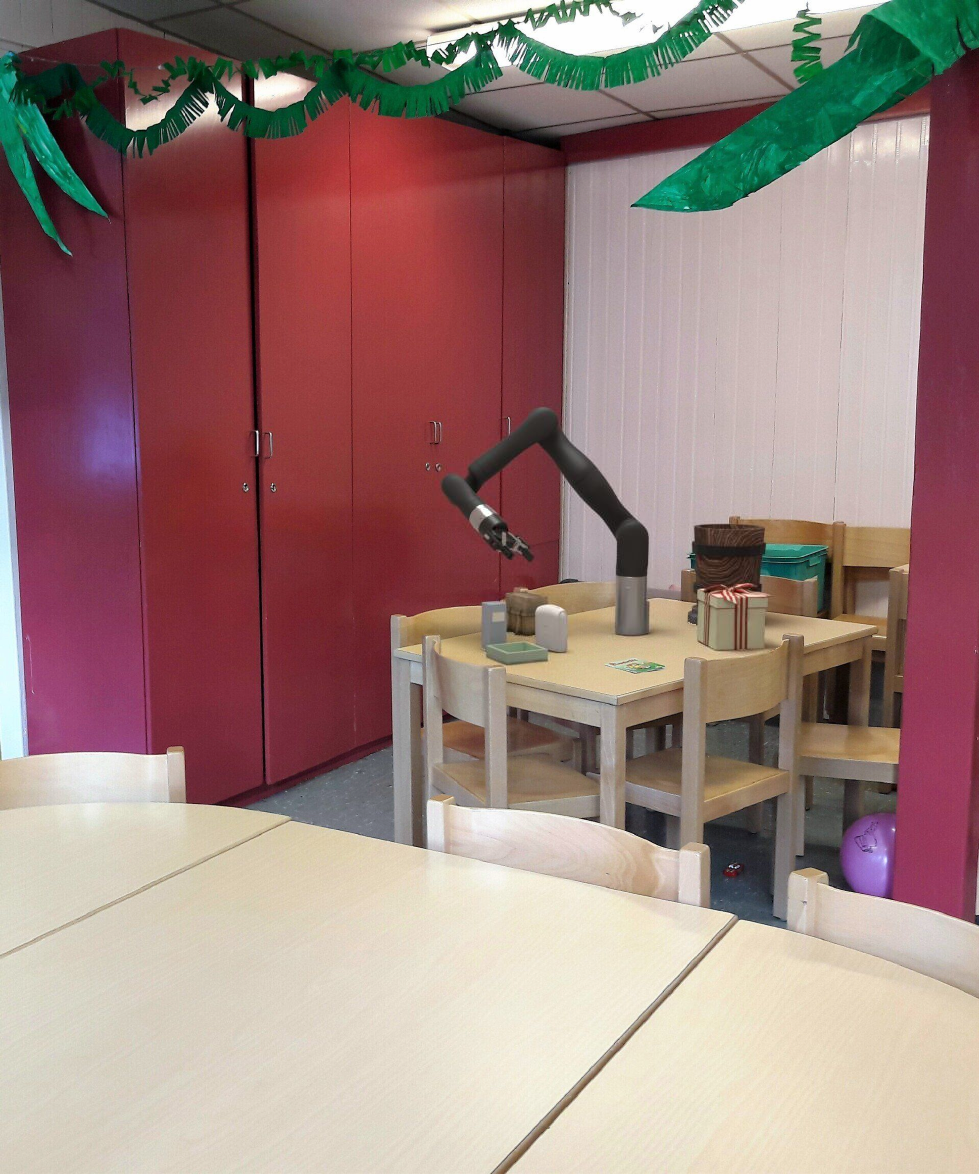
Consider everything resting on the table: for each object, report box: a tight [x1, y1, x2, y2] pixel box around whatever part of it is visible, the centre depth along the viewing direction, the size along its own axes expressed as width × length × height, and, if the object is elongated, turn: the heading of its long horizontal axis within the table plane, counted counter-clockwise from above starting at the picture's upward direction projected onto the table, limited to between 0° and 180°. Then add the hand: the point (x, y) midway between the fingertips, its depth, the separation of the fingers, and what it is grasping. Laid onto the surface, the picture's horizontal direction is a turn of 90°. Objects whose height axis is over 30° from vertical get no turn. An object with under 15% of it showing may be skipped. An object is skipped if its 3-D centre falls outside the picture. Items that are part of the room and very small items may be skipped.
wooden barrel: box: [687, 523, 767, 625], centre depth 337 cm, size 24×30×30 cm
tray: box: [485, 640, 549, 666], centre depth 284 cm, size 12×12×3 cm
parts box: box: [481, 600, 507, 651], centre depth 295 cm, size 5×5×13 cm
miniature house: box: [505, 590, 551, 637], centre depth 321 cm, size 15×14×11 cm
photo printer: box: [534, 604, 568, 653], centre depth 295 cm, size 10×4×12 cm, turn 39°
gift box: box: [696, 583, 775, 651], centre depth 299 cm, size 17×18×17 cm
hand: (522, 558), depth 294 cm, fingers open, 8 cm apart
